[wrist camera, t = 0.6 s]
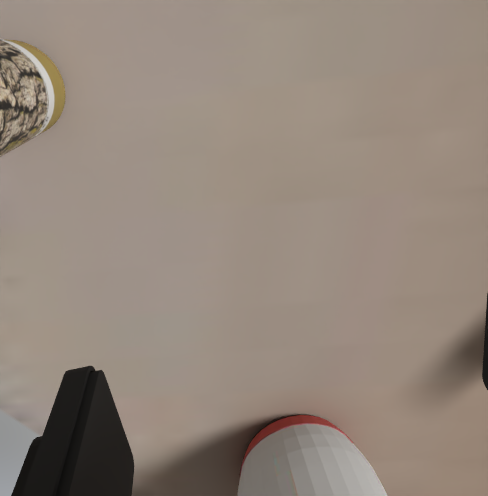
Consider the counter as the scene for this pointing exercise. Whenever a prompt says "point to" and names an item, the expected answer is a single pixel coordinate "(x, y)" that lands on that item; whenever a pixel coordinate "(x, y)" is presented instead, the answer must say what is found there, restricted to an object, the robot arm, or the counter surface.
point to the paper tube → (27, 94)
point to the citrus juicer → (306, 462)
